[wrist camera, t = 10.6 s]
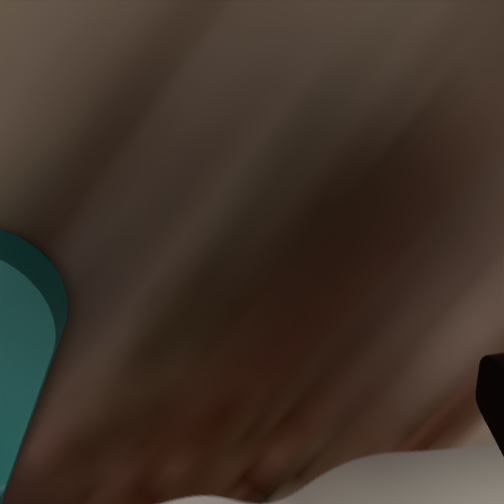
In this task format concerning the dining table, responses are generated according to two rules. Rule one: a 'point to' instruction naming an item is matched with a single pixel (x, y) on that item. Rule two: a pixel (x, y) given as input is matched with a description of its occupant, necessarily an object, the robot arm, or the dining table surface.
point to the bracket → (25, 340)
